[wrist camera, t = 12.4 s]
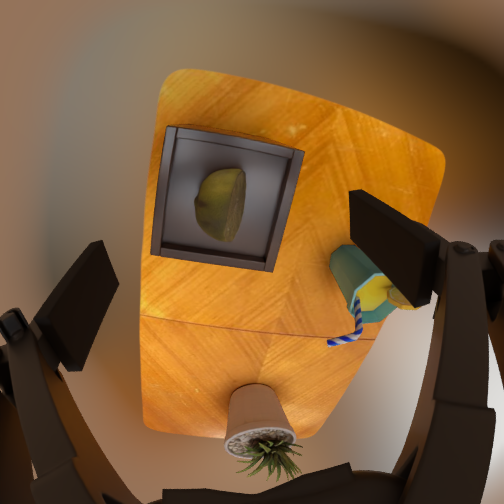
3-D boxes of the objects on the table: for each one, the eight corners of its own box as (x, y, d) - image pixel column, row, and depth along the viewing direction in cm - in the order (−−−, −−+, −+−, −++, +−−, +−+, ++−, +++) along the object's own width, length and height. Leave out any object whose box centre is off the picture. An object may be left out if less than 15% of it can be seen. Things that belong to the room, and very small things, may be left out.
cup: (302, 299, 44) (334, 371, 31) (288, 256, 41) (323, 324, 27) (382, 267, 44) (435, 323, 30) (377, 223, 40) (439, 272, 27)
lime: (236, 155, 21) (242, 165, 16) (264, 210, 23) (277, 234, 18) (183, 184, 21) (174, 201, 17) (214, 236, 23) (214, 265, 19)
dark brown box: (187, 123, 32) (166, 125, 18) (269, 138, 34) (305, 151, 20) (173, 203, 36) (150, 255, 22) (251, 215, 38) (272, 272, 24)
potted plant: (252, 421, 57) (265, 499, 39) (207, 396, 52) (211, 488, 34) (299, 395, 55) (324, 478, 37) (257, 366, 50) (276, 466, 32)
